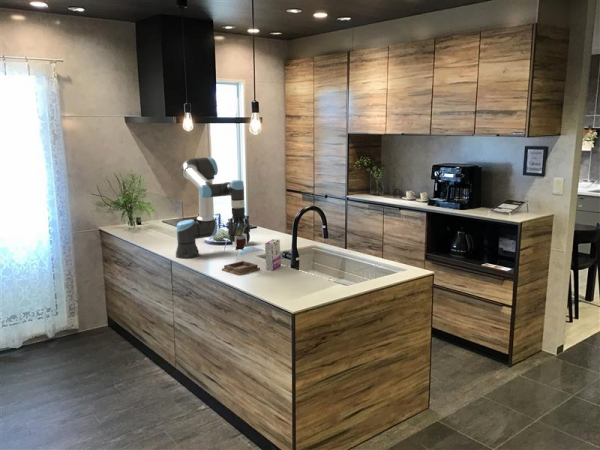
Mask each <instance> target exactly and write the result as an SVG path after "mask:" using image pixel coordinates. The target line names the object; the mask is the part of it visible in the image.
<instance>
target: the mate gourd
mask: <svg viewBox="0 0 600 450" xmlns="http://www.w3.org/2000/svg"><path fill="white" fill-rule="evenodd" d="M247 225H248V224H247ZM247 225H246V226H247ZM246 226H245V227H246ZM245 227H244V228H243V232H244V229H245ZM243 232H242V235H236V244H237V247H235V248H234V249H235V251H238V250H241V251H244V250H245V246H246V245H245V241H246V240H245V237H244V236H243Z"/></svg>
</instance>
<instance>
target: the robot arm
mask: <svg viewBox="0 0 600 450" xmlns="http://www.w3.org/2000/svg"><path fill="white" fill-rule="evenodd" d="M218 172H219V170H218V164H217V161H216V160H215V158H213V157H194V158H188V159H186V160H185V161H184V162H183V163H182V164H181V167H180V173H181V175H182V176H183V177H184V178H185V179H186V180H189V181H190V182H191V183H192V184H193V185H194V186H195V187H196V188H197V189H198V216H197V217H196V221H195V220H194V219H185V220H180V221H179V222H177V224H176V236H177V247H176V251H175V257H176V258H179V259H190V258H191V259H192V258H196V257H198V256H199V255H200V251H199V249H198V246H197V244H196V240H197V239H204V238H205V239H206V238H212V237H214V236H215V235H216V234H217V232H218V227H219V226H218V222H217V220H216V219H215V217H214V216H213V198H218V197H226V196H227V197H228V196H230V201H231V215H232V216H231V217H230V218H228V219H227V221H228V228H227V229H228V230H227V231H228V233H227V234H228V236H229V235H230V236H231V239H232V242H233V243H232V242H231V243H232V247H233V248H236V247H237V244H236V236H235V233H236V229H237V226H239V225H241V227H242V229H243V228H244V227H245V226H246V225H247V224H248V225H247V226H246V227H245V229H244V234H243V236H244V237H245V240H246V241H245V245H244V246H248V243H247V238H248V237H247V234H248V233H249V234H250V232H251V228H250V227H251V226H250V220H249V219H250V216H249V215H245V213H246V212H245V211H246V209H245V208H246V207H245V185H244V181H243V180H238V179H235V180H231V181H229V182H228V181H227V182H226V181H225V182H224V183H223V182H221V183H213V181H214V180H215V176H216V175H218Z"/></svg>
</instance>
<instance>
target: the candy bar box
mask: <svg viewBox="0 0 600 450" xmlns="http://www.w3.org/2000/svg"><path fill="white" fill-rule="evenodd" d="M280 241H281V240H280V239H277V238H276V239H275V238H273V239H270V240H269V241H267V242H265V243H264V246H265V247H264V248H265V268H266V269H265V270H266V271H275V270H276V269H278V268H279V267H281V266H282V264H281V263H282V261H281V244H280V243H281V242H280Z"/></svg>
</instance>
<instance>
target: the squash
mask: <svg viewBox="0 0 600 450" xmlns="http://www.w3.org/2000/svg"><path fill="white" fill-rule="evenodd" d="M242 232H243V229H242V227H241V224H238V225H237V229H236V233H235V236H236V235H242ZM243 234H244V232H243ZM228 236H229V237H228V238H229V240H230V243H232V244H233V242H232V239H231V236H230V235H228ZM247 237H248V238H247V244H248V243H249V242H250V239H251V235H250V232H249V233H248V234H247Z"/></svg>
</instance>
